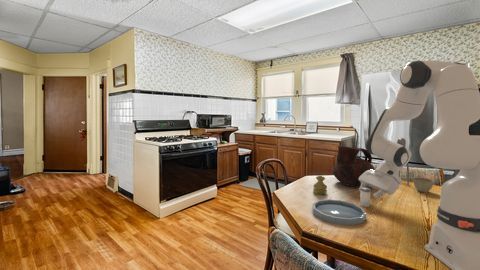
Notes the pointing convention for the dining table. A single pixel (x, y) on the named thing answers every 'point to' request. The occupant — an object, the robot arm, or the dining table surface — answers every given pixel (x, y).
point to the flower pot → (423, 184)
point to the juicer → (403, 143)
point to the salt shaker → (320, 186)
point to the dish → (339, 212)
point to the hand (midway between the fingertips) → (366, 193)
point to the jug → (351, 165)
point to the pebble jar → (365, 196)
